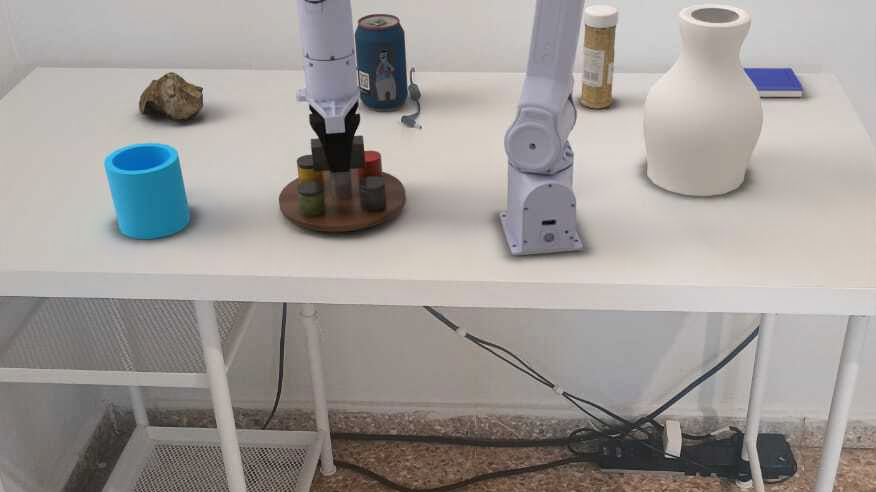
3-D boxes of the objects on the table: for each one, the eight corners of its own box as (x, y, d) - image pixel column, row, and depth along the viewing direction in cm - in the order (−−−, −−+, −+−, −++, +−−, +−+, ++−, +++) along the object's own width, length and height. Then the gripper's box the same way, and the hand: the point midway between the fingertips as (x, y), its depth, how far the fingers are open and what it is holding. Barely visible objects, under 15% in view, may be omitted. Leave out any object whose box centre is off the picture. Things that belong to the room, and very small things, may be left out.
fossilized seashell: (220, 96, 146) (179, 91, 152) (189, 63, 141) (148, 59, 147) (190, 138, 144) (150, 131, 150) (158, 106, 139) (118, 100, 145)
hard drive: (715, 87, 148) (803, 87, 148) (707, 66, 155) (790, 66, 154) (714, 98, 149) (801, 98, 149) (705, 76, 156) (789, 76, 155)
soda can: (386, 90, 153) (381, 9, 146) (418, 103, 149) (414, 19, 142) (350, 103, 149) (343, 20, 142) (381, 117, 145) (376, 32, 138)
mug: (185, 237, 119) (172, 172, 114) (113, 241, 118) (97, 176, 113) (199, 189, 128) (187, 127, 124) (132, 192, 128) (118, 130, 123)
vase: (625, 190, 126) (639, 27, 114) (650, 143, 137) (665, -11, 125) (744, 208, 122) (772, 40, 110) (760, 158, 133) (786, 0, 121)
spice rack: (411, 226, 118) (407, 165, 113) (278, 236, 117) (269, 175, 112) (400, 168, 130) (397, 111, 125) (280, 177, 129) (272, 119, 124)
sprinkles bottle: (618, 104, 148) (625, 9, 140) (593, 112, 146) (599, 16, 138) (597, 94, 151) (603, 1, 143) (573, 101, 149) (577, 7, 141)
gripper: (291, 31, 118) (304, 142, 126) (291, 78, 106) (305, 197, 114) (353, 27, 119) (362, 138, 127) (360, 74, 107) (369, 192, 115)
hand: (339, 166), depth 121 cm, fingers closed on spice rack, 2 cm apart
